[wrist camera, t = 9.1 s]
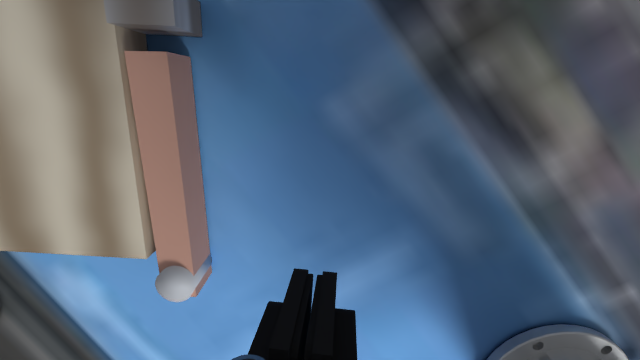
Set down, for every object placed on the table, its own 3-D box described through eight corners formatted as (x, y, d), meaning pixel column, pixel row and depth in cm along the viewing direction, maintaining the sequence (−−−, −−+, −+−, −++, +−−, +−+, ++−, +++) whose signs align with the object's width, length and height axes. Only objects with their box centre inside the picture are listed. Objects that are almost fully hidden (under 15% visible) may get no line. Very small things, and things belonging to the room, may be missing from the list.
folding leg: (213, 273, 24) (194, 302, 21) (181, 272, 24) (158, 301, 21) (191, 56, 20) (163, 50, 16) (152, 56, 20) (116, 49, 16)
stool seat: (198, -20, 19) (169, -45, 15) (214, 241, 24) (195, 266, 20) (-130, -35, 19) (-232, -63, 15) (-43, 226, 24) (-104, 249, 21)
